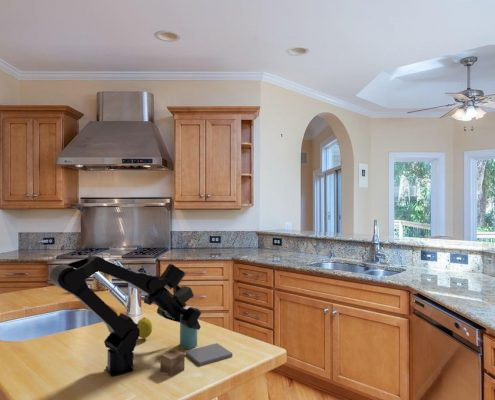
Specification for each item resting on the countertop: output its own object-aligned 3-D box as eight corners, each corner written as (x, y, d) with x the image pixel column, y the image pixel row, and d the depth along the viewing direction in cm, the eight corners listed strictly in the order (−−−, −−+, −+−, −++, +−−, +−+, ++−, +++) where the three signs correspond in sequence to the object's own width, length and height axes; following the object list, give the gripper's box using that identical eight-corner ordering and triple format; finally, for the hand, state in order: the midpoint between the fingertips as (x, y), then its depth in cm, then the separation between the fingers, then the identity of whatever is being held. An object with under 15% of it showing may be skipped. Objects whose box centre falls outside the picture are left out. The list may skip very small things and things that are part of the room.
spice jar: (184, 350, 121) (184, 311, 121) (177, 344, 126) (177, 307, 126) (200, 346, 124) (200, 309, 124) (192, 340, 129) (192, 304, 129)
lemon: (153, 336, 133) (153, 314, 133) (149, 342, 128) (150, 319, 128) (138, 336, 133) (138, 314, 133) (134, 342, 127) (134, 319, 127)
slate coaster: (199, 365, 110) (199, 362, 110) (185, 354, 118) (185, 351, 118) (232, 356, 117) (232, 353, 117) (217, 345, 125) (217, 343, 125)
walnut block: (170, 376, 103) (171, 359, 103) (160, 371, 106) (160, 354, 106) (184, 370, 107) (184, 353, 107) (173, 365, 110) (174, 349, 110)
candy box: (111, 288, 204) (112, 261, 204) (109, 290, 200) (109, 262, 200) (95, 288, 203) (96, 261, 204) (93, 290, 199) (93, 262, 199)
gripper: (196, 285, 116) (221, 311, 124) (164, 276, 129) (189, 300, 137) (176, 314, 110) (203, 340, 118) (144, 302, 123) (171, 326, 131)
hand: (191, 325), depth 126 cm, fingers open, 8 cm apart
